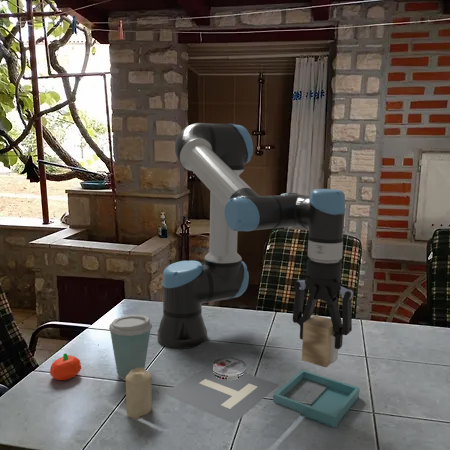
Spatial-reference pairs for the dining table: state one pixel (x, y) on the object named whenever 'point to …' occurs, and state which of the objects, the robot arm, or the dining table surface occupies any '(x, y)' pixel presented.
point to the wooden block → (317, 340)
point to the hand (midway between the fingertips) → (319, 356)
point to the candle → (138, 393)
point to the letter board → (222, 393)
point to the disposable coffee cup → (130, 342)
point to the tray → (321, 399)
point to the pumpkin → (65, 367)
